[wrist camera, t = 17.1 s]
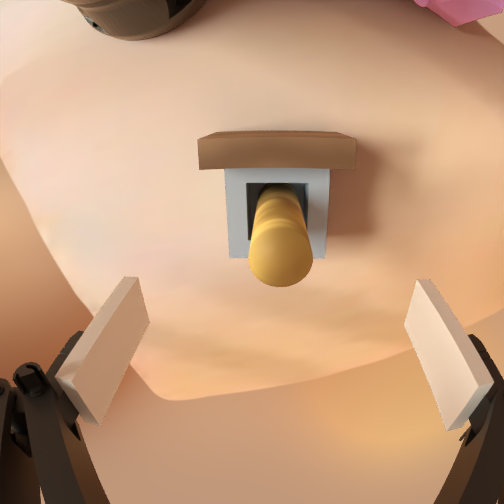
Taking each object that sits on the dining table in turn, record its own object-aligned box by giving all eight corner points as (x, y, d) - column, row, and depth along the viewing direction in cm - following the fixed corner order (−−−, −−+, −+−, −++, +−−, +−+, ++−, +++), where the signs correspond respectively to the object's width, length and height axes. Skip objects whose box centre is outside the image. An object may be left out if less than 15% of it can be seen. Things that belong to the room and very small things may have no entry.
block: (231, 155, 30) (224, 163, 26) (321, 155, 30) (330, 163, 25) (235, 237, 34) (229, 257, 30) (318, 237, 33) (324, 258, 29)
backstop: (216, 132, 30) (197, 139, 22) (336, 132, 29) (356, 139, 21) (217, 155, 31) (199, 169, 23) (336, 155, 30) (355, 170, 22)
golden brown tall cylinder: (258, 218, 32) (249, 286, 20) (257, 180, 30) (247, 229, 19) (297, 218, 32) (310, 286, 20) (298, 180, 30) (314, 229, 18)
